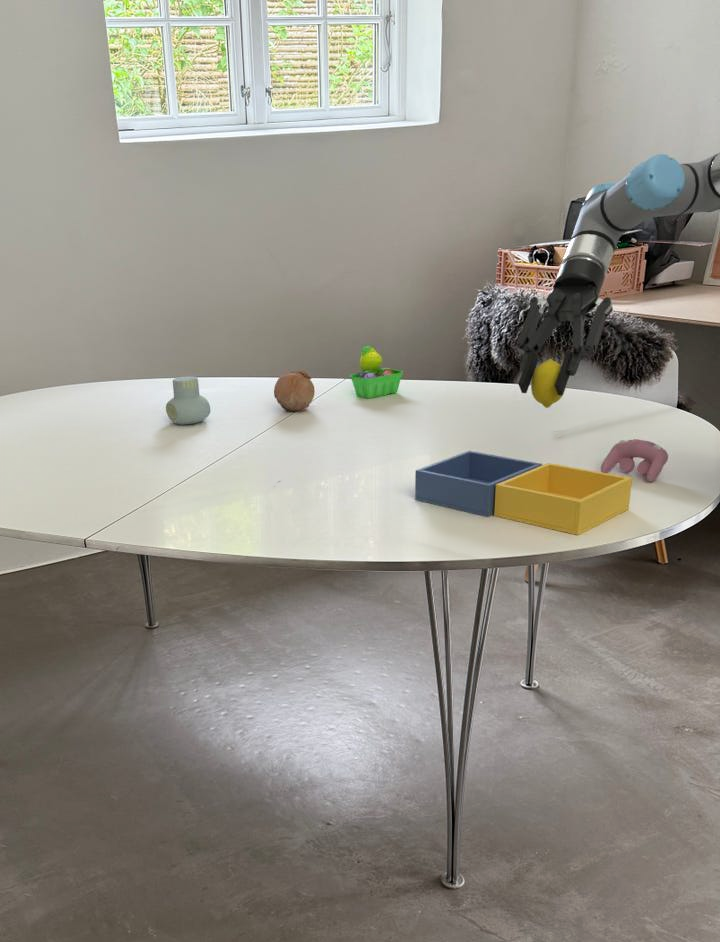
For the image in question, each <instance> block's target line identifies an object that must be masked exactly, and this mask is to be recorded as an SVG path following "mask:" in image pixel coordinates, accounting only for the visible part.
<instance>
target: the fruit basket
mask: <svg viewBox="0 0 720 942" xmlns="http://www.w3.org/2000/svg"><path fill="white" fill-rule="evenodd" d="M360 354H361V355H360V359H359V367H360V370H362V371H361V372H357V373H353V374H350V375H349V378H350V380H351V383H352V385H353V388H354V392H355V396H357V397H360V398H364V399H372V398H377V397H382V396H386V395H390V393H391V394H395V393H396V392H397V393H398V391H399V386H400V383H401V379H402V377H403V375H404V371H403V370H398V369H393V368H388V367H381V364H382V362H383V357H382V356H381V354H380V353H378V352H377V351H376V350H375V348H373V347H372V346H370V345H366V346H363V347H362V349H361V353H360Z"/></svg>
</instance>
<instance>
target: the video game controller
mask: <svg viewBox="0 0 720 942" xmlns="http://www.w3.org/2000/svg"><path fill="white" fill-rule="evenodd" d="M634 458H638V459H643V460H642V461H640V462H639V463H638V464H637V467H636V462H635V460H634ZM668 459H669V454H668V451H667V450H666V449H664V448H663V447H661V446H660V444H657V443H655V442H652V441H649V440H644V439H637V438H636V439H635V438H633V439H629V440H628V439H625V440H624V439H621V440H619V441H618V443H617V442H616V443H614V445H613V446H612V448H611V449H610V451H609V452H608V453H607V455H606V456H605V458H604V459H603V461H602V462H601V467H600V472H602V473H608V474H609V473H610V472H611V471H612V470H613V469H614V467H616V466H617V464H619V469H620V471H621V472H623V473H631V472H633V471H634V470H635V468H636V473H638V474H639V475H640V476H643V477H646V480H647V482H649V483H652V482H654V481H655V480H656V479H658V478H659V476H660V474H661V472H662V470H663V468H664V466H665V465H666V463H667V462H668Z"/></svg>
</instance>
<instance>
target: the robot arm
mask: <svg viewBox="0 0 720 942" xmlns="http://www.w3.org/2000/svg"><path fill="white" fill-rule="evenodd" d="M716 211H720V152H718V153H716V154H713V155H711V156H710V157H708V158H706V159H705V158H704V160H703V159H702V160H700V161H698V162H688V163H680V162H679V161H678V160H677V159H676V158H674V157H670V156H669V155H668V154H664V153H659V154H654V155H653V156H651V157H650V158H648V159H646V160H645V161H643V162H640V163H639V164H638V165H636V166H635V167H634V168H633V169H632V170H631V171H630V172H629V173H628V174H625V176H623V177H622V178H621V179H620V180H619V181H617V182H605V183H603V184H597V185H595V186H594V187H592V188H591V189H590V191H589V192H588V194H587V195H586V198H585V200H584V202H583V203H582V205H581V207H580V210H579V215H578V217H577V220H576V223H575V225H574V229H573V232H572V234H571V237H570V240H569V244H568V245H567V248H566V251H565V254H564V256H563V259H562V260H561V261H562V262H561V265H560V267H559V269H558V273H557V275H556V277H555V280H554V284H553V288H552V289H551V291H550V292H549V294H548V295H547V297H544V298H540V299H538V297H537V296H532V297H531V298H530V300H529V307H530V308H529V310H528V313H527V316H526V318H525V320H524V323H523V325H522V328H521V331H520V333H519V335H518V338H517V339H516V343H515V346H516V348H517V350H518V353H519V355H520V356H522V358H521V362H520V364H519V369H520V371H521V375H520V377H519V380H518V383H517V384H518V387H519V389H520V391H521V394H527V393H528V390H529V387H530V386H531V382H532V377H533V374H534V372H535V370H536V368H537V367H538V363H539V356H538V353H539V352H540V350H542V348H543V346H544V344H545V343H546V342H547V340H548V339H549V338H550V336H551V335H552V333H553V332H554V331H555V329H556V328H558V327H559V326H560V324H561V323H562V322H566V321H567V322H572V346H571V350H572V351H568V350H567V351H566V353H565V355H564V358H563V361H562V363H561V369H560V372H559V375H558V377H557V380H556V383H555V389H556V391H557V394H558V395H563V396H564V394H565V392H564V390H565V391H566V388H565V387H567V384H568V381H569V379H570V377H574V376H575V375H577V372H578V368H579V366H580V363H581V361H582V360H583V359H585V358H589V359H591V358H594V357H595V356H596V352H597V350H598V346H599V343H600V340H601V338H602V333H603V331H604V328H605V324H606V321H607V318H608V317H609V316H610V315H611V313H612V312H613V310H614V308H613V303H612V299H611V297H609V296H607V297H605V298H600V297H599V295H600V293H601V290H602V288H603V287H602V286H603V285H604V281H605V278H606V275H607V273H608V270H609V267H610V265H611V262H612V259H613V256H614V253H615V250H616V248H617V246H618V245H617V244H618V242H619V240H620V238H621V237H622V236H623V235H625V234H626V233H628V232H629V231H631V230H633V228H635V227H637V226H638V225H639V224H641V223H643V222H645V221H646V220H647V219H650V218H651V219H652V218H658V217H659V218H660V217H667V216H669V217H670V216H676V215H686V214H695V213H696V214H697V213H713V212H716ZM546 307H548V308H549V309H548V310H547V312H546V315H545V318H544V319H543V321H542V322H541V323H540V325H539V326H538V324H539V322H540V319H541V316H542V314H544V311H545V309H546ZM594 309H595V312H594V315H593V319H592V322H591V325H590V328H589V332H588V335H587V337H586V340H585V344H584V331H585V330H584V329H585V328H584V327H585V316H587V314H589V313H590V312H592V310H594ZM563 393H564V394H563Z"/></svg>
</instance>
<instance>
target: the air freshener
mask: <svg viewBox="0 0 720 942" xmlns="http://www.w3.org/2000/svg"><path fill="white" fill-rule="evenodd" d="M199 385H200V384H199V378H198V377H197V376H191V375H189V376H188V375H185V376H179V377H178V376H177V377H176V378H174V379H172V390H173V397H172V398H171V399H170V400H168V402H167V403H166V404H165V412H166V415H167V417H168V419H169V420H170V421H171V422H172V423H175V424H177V425H180V426H184V425H185V426H186V425H194V424H199V423H201V422H203V421H205V420H206V419H207V418H208V417H209V416H210V414H211V405H210V403H209V401H208V399H207V398H206V397H204V395H203V396H202V395H200V387H199Z"/></svg>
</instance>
